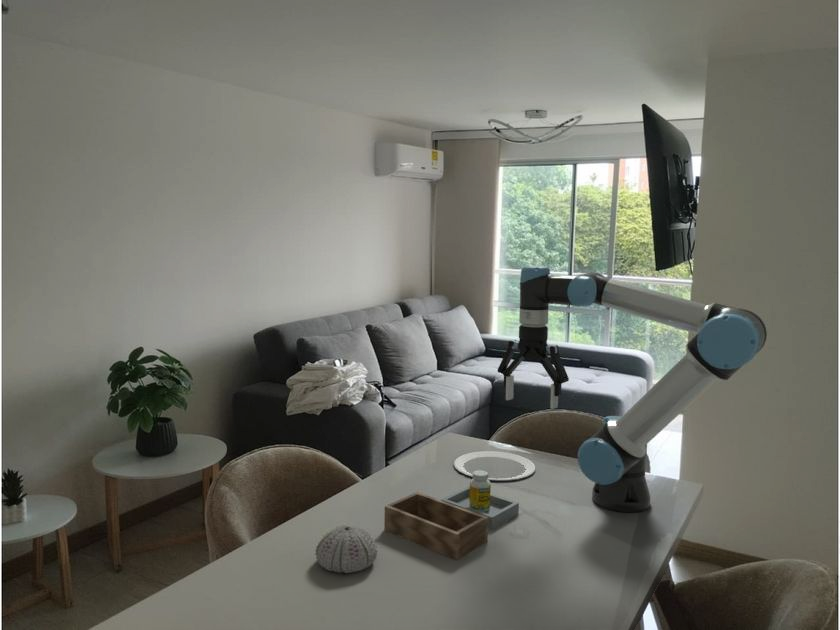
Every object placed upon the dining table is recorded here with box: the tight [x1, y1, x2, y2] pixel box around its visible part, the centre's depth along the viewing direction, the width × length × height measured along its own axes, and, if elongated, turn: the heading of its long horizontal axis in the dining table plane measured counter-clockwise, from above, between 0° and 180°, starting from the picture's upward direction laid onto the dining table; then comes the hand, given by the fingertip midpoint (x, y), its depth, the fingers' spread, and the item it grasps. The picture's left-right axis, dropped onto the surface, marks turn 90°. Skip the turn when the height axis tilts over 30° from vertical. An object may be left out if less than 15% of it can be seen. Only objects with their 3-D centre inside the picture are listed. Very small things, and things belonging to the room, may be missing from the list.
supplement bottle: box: [469, 469, 492, 512], centre depth 174 cm, size 5×5×10 cm
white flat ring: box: [453, 450, 536, 482], centre depth 207 cm, size 25×25×1 cm
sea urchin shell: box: [314, 524, 378, 574], centre depth 147 cm, size 13×14×8 cm
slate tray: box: [440, 486, 520, 530], centre depth 174 cm, size 16×12×3 cm
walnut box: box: [383, 491, 489, 561], centre depth 161 cm, size 22×12×6 cm, turn 49°
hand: (531, 403), depth 181 cm, fingers open, 13 cm apart
